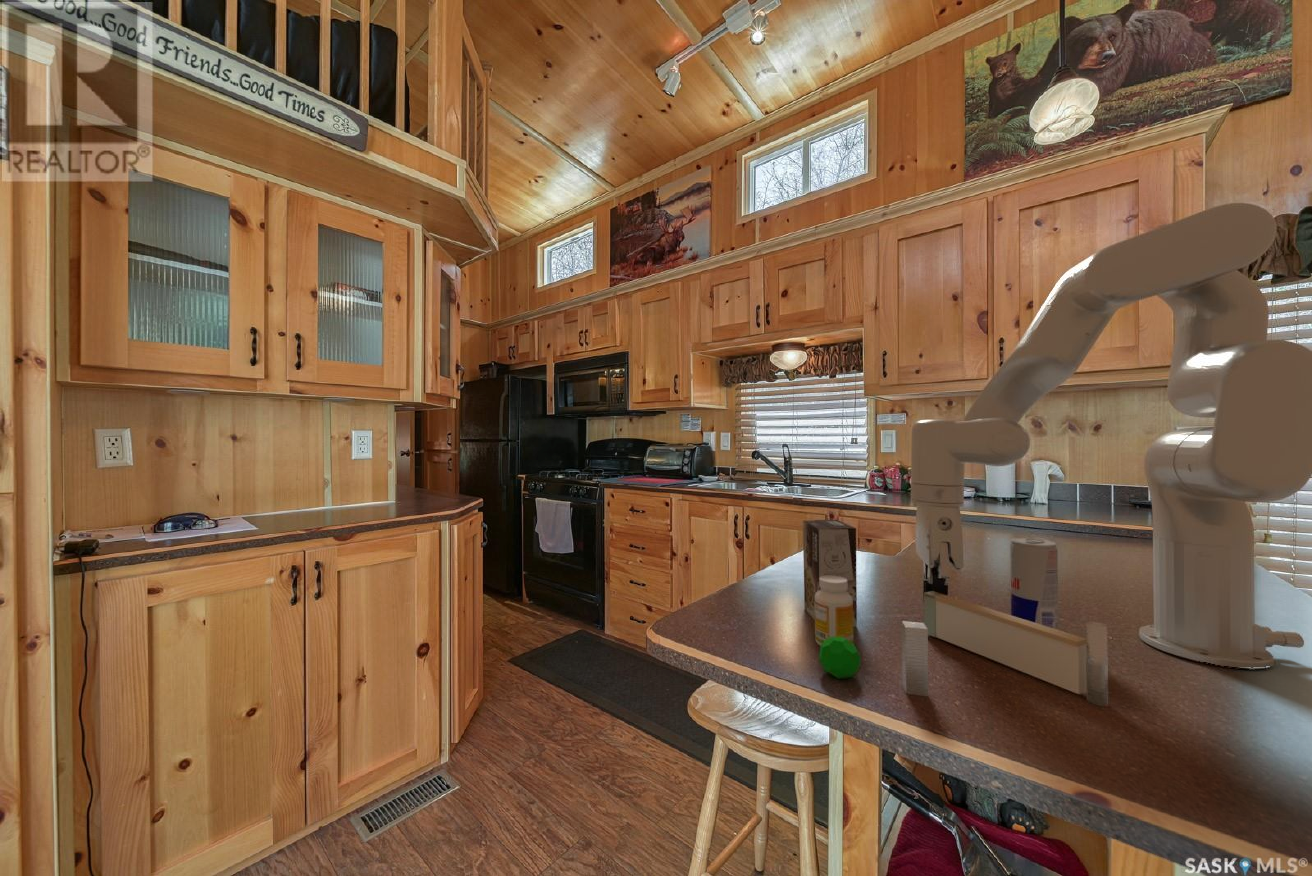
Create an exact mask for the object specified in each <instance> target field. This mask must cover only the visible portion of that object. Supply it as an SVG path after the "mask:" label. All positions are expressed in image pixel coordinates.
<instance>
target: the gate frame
mask: <svg viewBox="0 0 1312 876" xmlns="http://www.w3.org/2000/svg"><path fill="white" fill-rule="evenodd" d="M1085 626H1086V627H1085V631H1086V632H1085V635H1086V636H1085V637H1086V690H1087V691H1086V700H1087V702H1088V703H1090V704H1092V705H1094V706H1098V707H1108V706H1109V672H1108V671H1109V669H1108V667H1109V665H1108V663H1109V662H1108V659H1109V657H1108V654H1109V653H1108V650H1109V649H1108V648H1109V647H1108V625H1107V624H1105V623H1103V622H1100V621H1099V622H1098V621H1094V620H1093V621H1092V620H1091V621H1090V620H1089V621H1088V620H1087V621H1085ZM928 638H929V635H928V629H927V627H926V626H925V624H924V622H917V621H907V620H902V621H901V644H902V645H901V650H902V651H901V653H902V656H901V657H902V660H901V661H902V662H901V663H902V664H901V665H902V666H901V667H902V688H903V690H904V692H905V694H906V695H913V696H923V697H929V639H928Z"/></svg>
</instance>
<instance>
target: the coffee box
mask: <svg viewBox="0 0 1312 876" xmlns="http://www.w3.org/2000/svg"><path fill="white" fill-rule="evenodd" d="M802 541H803V543H802V544H803V545H802V547H803V550H802V552H803V553H802V554H803V556H802V557H803V594H804V596H803V598H804V602H803V603H804V606H803V607H804V609H805V611H807V614H809V616H811V618H812V619H813V620H814V621H815V594H816V592H817V591H819V590H821V588H820V587H819V578H820V577H821V576H826V575H833V576H840V577H843V578H846V579H847V583H848V588H847V591H846V592H847V593H848V594H849V595H850V596H851V597H852V600H853V628H855V627H856V628H857V625H858V621H857V620H858V613H857V612H858V610H857V607H858V606H857V605H858V604H857V602H858V601H857V600H858V598H857V597H858V596H857V594H858V593H857V528H856V527H855V526H851V525H850V524H848V523H846V522H843V521H841V520H838V519H815V520H802Z"/></svg>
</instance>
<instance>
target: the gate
mask: <svg viewBox="0 0 1312 876" xmlns="http://www.w3.org/2000/svg"><path fill="white" fill-rule="evenodd" d="M923 619H924V620H923V623H924V624H925V626H926V627H927V629H928V636H931V637H933V638H938V639H940V640H943V641H945V642H947V643H950V644H953V645H956V646H957V647H960V648H963V649H965V650H967V651H970V652H972V653H975V654H977V655H980V656H983V657H985V658H987V659H990V660H993V661H995V662H997V663H1000V664H1002V665H1005V666H1008V667H1009V668H1013V669H1014V670H1017V671H1020V672H1021V673H1024V674H1028V675H1029V676H1032V677H1035V678H1037V679H1040V680H1042V681H1045V682H1046V683H1047V682H1048V683H1050V684H1052V685H1055V686H1058V687H1060V688H1062V689H1065V690H1067V691H1070V692H1072V693H1075V694H1077V695H1081V694H1083V693H1087V652H1086V638H1085V637H1082V636H1079V635H1076V634H1072V633H1069V632H1066V631H1063V630H1060V629H1058V630H1057V629H1053V628H1050V627H1047V626H1044V625H1041V624H1037V623H1034V622H1031V621H1028V620H1024V619H1021V618H1018V617H1015V616H1012V615H1011V614H1008V613H1006V612H1005V613H1004V612H1001V611H998V610H996V609H992V608H989V607H985V606H982V605H978V604H975V603H972V602H969V601H966V600H963V599H960V598H956V597H952V596H950V595H948V596H947V595H944V594H941V593H937V592H934V591H930V592H925V593H924V603H923Z"/></svg>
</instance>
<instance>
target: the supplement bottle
mask: <svg viewBox="0 0 1312 876" xmlns="http://www.w3.org/2000/svg"><path fill="white" fill-rule="evenodd" d="M819 587H820V588H821V590H819V591H817V592H816V594H815V620H814V639H815V642H816V644H817V645H818V646H820V647H821V644H822V643H823V642H824V641H825V640H826V639H828V638H831V637H838V636H841V637H843V638H845V639H847V640H848V641H850V642H851V643H853V644H854V627H853V600H852V597H851V596H850V595H849V594H848V593H847V592H846V591H847V588H848V583H847V579H846V578H843V577H840V576H833V575H826V576H821V577H820V578H819Z"/></svg>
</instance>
